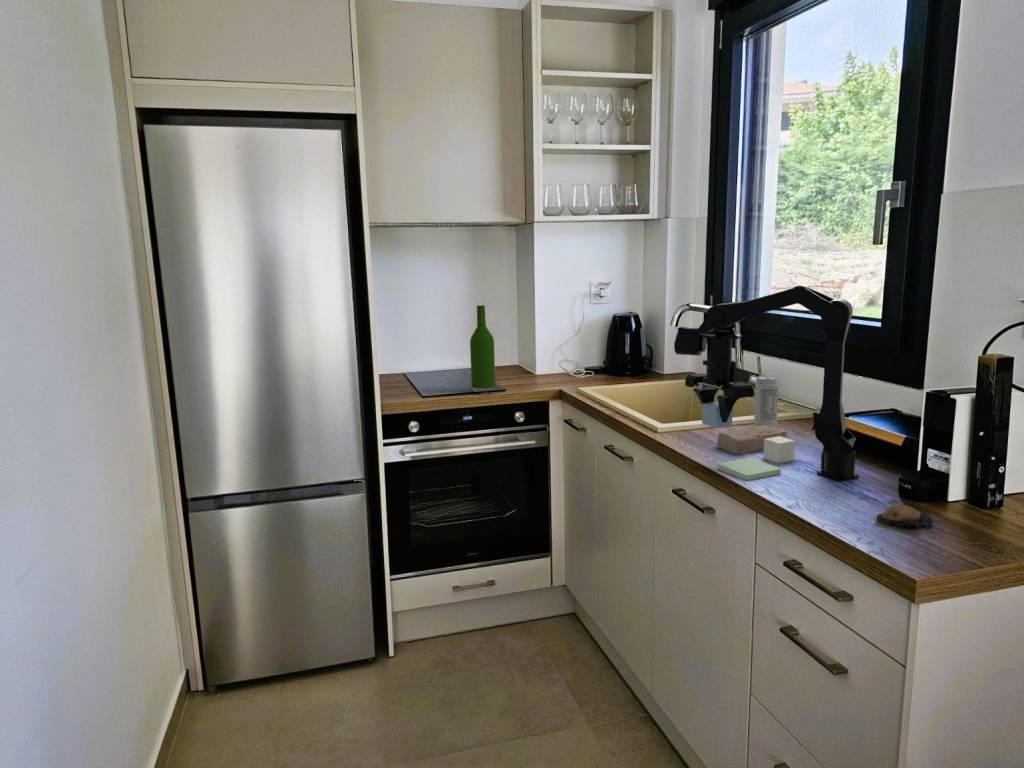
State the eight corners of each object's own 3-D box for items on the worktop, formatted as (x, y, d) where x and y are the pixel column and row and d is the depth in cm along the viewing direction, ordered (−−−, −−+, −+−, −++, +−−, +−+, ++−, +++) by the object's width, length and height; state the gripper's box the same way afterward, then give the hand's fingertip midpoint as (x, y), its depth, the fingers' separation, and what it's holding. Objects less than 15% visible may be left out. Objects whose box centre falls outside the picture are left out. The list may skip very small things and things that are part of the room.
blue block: (732, 425, 170) (732, 405, 170) (715, 427, 169) (716, 407, 168) (718, 420, 175) (719, 401, 174) (702, 423, 173) (702, 403, 172)
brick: (736, 455, 178) (736, 437, 177) (715, 447, 186) (716, 430, 185) (788, 448, 184) (789, 430, 183) (766, 440, 191) (766, 423, 191)
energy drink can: (772, 426, 204) (774, 375, 201) (779, 432, 198) (781, 379, 195) (751, 427, 204) (752, 376, 201) (757, 432, 198) (759, 380, 195)
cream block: (794, 460, 172) (795, 440, 171) (778, 463, 170) (779, 443, 169) (778, 455, 177) (779, 436, 176) (763, 458, 175) (764, 438, 174)
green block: (780, 473, 162) (780, 468, 162) (746, 480, 158) (746, 475, 158) (750, 462, 171) (750, 457, 171) (717, 468, 167) (717, 463, 167)
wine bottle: (500, 392, 264) (497, 305, 258) (480, 395, 259) (476, 307, 253) (487, 389, 271) (484, 304, 265) (467, 392, 266) (464, 305, 260)
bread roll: (918, 539, 126) (919, 520, 126) (869, 526, 132) (870, 508, 132) (938, 522, 133) (939, 504, 133) (890, 511, 139) (892, 493, 139)
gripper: (773, 359, 163) (770, 424, 166) (720, 349, 180) (718, 408, 183) (735, 363, 159) (733, 430, 162) (684, 353, 176) (683, 413, 179)
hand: (717, 420), depth 172 cm, fingers closed on blue block, 5 cm apart
